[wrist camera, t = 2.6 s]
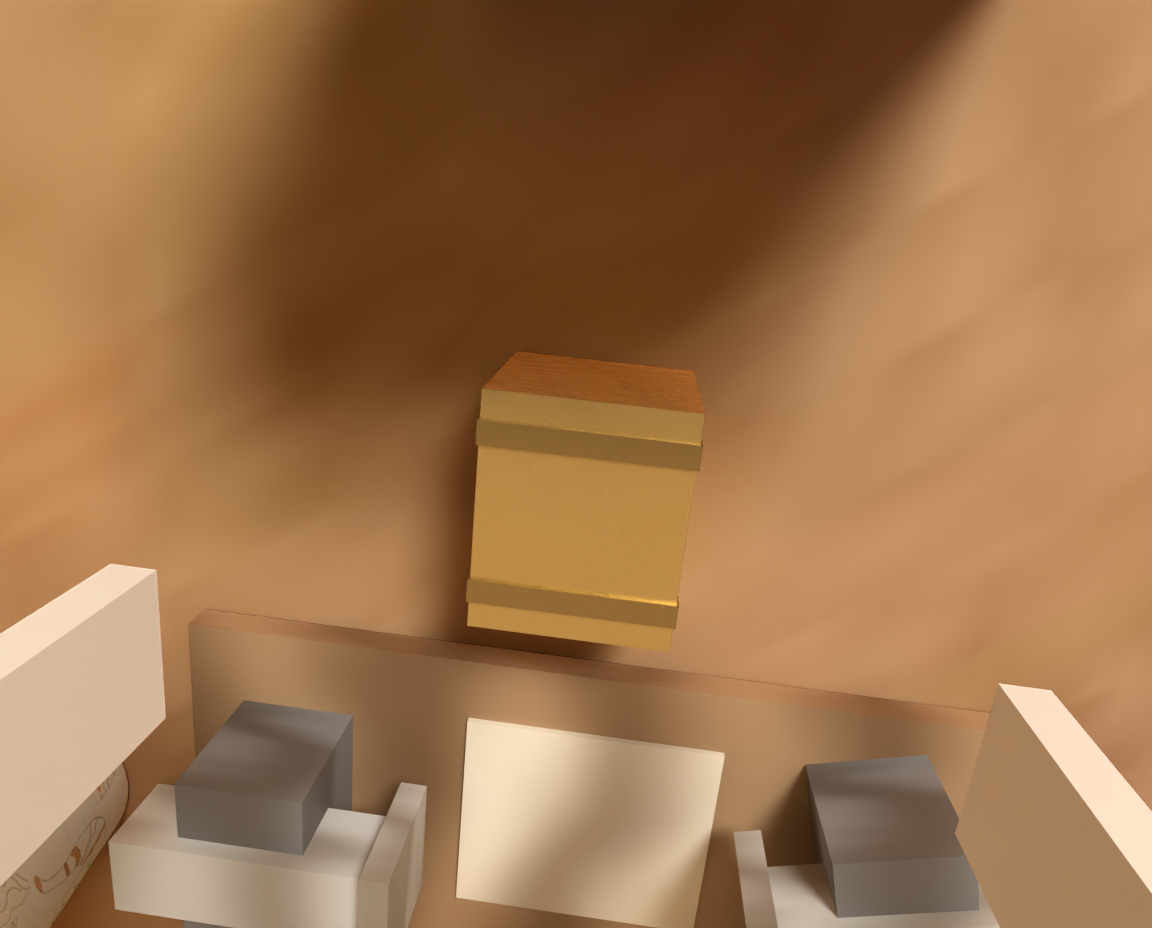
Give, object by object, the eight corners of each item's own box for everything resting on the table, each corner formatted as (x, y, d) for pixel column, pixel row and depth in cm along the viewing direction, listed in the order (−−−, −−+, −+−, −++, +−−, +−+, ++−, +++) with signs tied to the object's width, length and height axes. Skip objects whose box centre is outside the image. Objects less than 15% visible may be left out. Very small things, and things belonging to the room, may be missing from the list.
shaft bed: (218, 877, 30) (111, 1043, 24) (205, 609, 26) (77, 724, 20) (942, 986, 28) (1018, 1191, 22) (1026, 717, 25) (1142, 875, 19)
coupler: (515, 351, 23) (478, 389, 18) (695, 371, 23) (707, 415, 18) (500, 545, 25) (464, 627, 20) (667, 566, 25) (671, 654, 20)
